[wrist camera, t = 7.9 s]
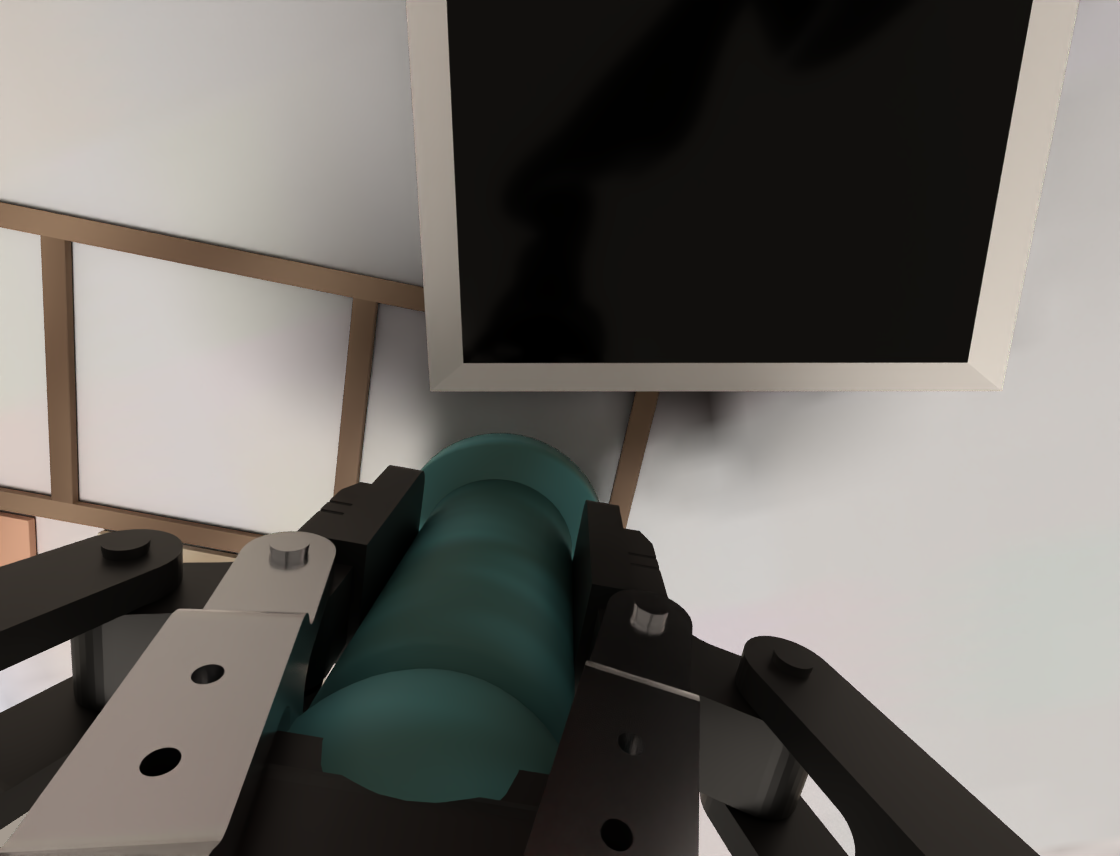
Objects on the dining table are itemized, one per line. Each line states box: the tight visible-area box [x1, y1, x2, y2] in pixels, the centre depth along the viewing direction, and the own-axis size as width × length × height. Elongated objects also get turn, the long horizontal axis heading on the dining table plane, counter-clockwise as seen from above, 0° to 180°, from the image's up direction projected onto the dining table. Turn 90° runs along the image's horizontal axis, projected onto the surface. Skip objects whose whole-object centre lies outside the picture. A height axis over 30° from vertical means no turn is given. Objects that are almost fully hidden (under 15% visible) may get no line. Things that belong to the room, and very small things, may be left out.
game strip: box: [0, 202, 660, 567], centre depth 16 cm, size 24×11×1 cm, turn 79°
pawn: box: [287, 433, 599, 803], centre depth 9 cm, size 5×5×11 cm
